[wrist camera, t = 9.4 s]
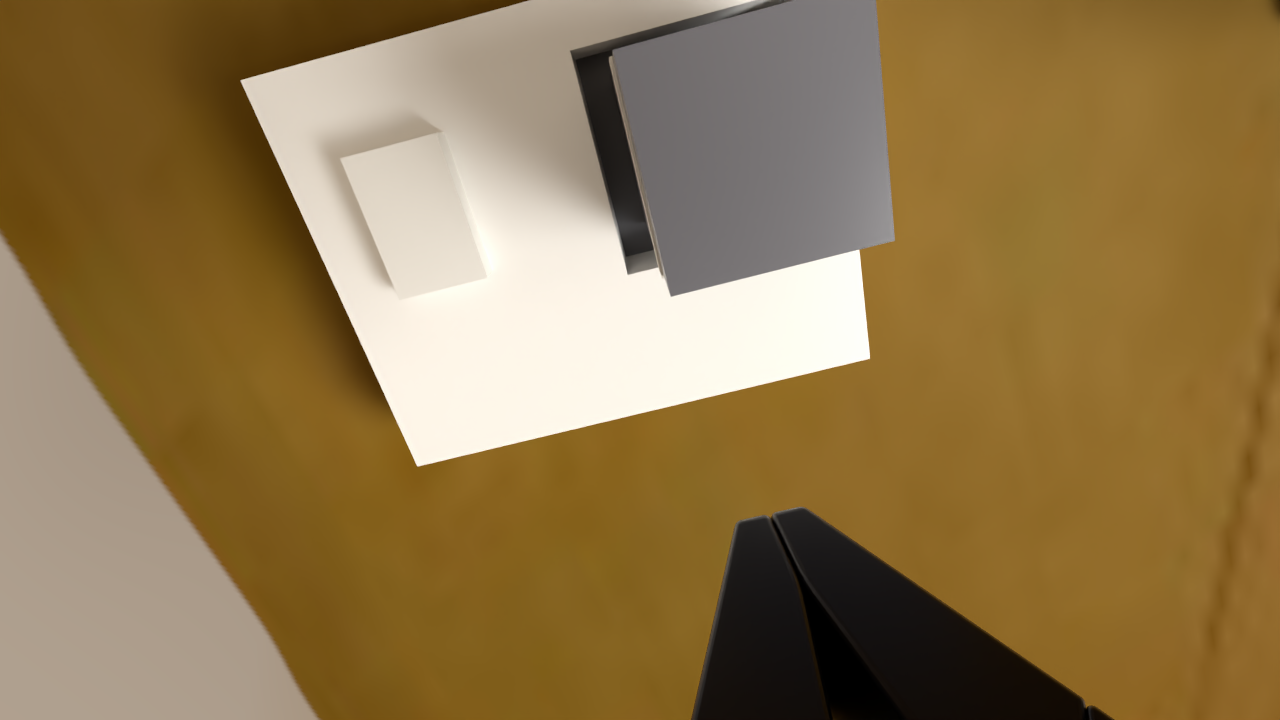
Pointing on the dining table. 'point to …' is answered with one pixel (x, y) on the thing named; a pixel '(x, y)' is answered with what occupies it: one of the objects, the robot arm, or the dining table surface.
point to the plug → (758, 140)
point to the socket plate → (524, 231)
